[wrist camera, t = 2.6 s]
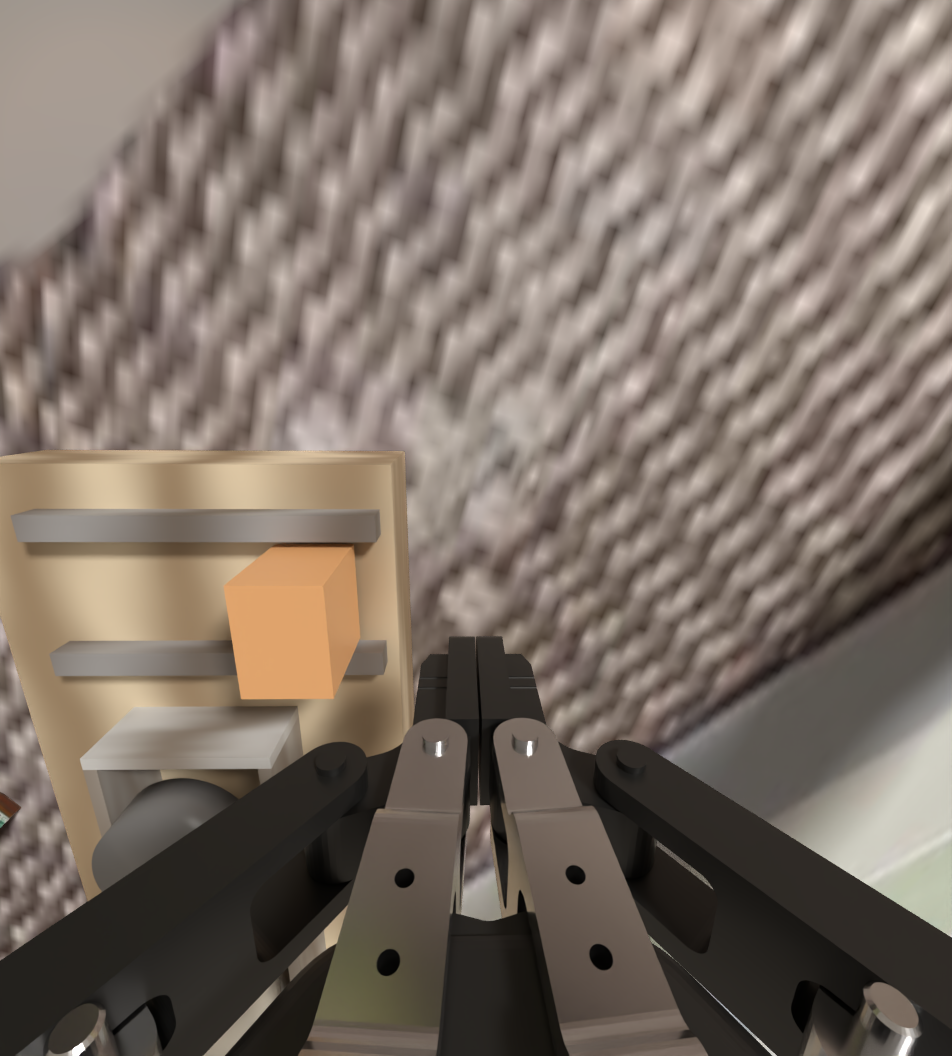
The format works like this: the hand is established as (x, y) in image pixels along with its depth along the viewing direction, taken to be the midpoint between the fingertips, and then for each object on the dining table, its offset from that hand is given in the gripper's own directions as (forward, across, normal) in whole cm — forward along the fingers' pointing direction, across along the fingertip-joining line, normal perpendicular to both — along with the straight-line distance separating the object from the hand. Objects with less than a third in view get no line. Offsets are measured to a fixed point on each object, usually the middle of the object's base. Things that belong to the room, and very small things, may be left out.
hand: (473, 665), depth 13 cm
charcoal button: (+3, +11, +9) cm, 15 cm away
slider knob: (+6, +6, 0) cm, 8 cm away
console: (+10, +11, +9) cm, 17 cm away
